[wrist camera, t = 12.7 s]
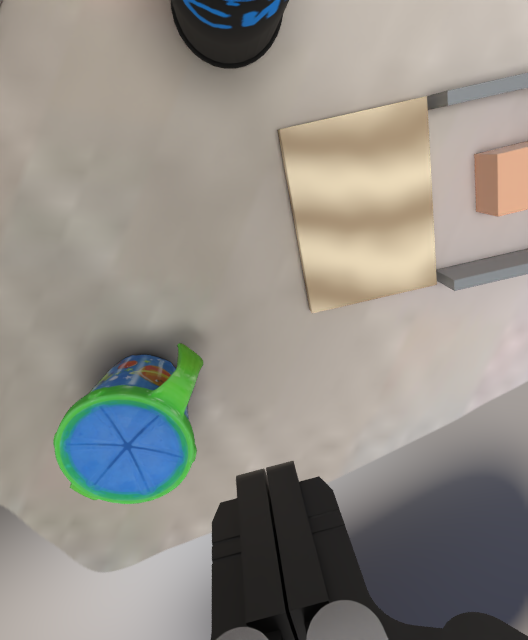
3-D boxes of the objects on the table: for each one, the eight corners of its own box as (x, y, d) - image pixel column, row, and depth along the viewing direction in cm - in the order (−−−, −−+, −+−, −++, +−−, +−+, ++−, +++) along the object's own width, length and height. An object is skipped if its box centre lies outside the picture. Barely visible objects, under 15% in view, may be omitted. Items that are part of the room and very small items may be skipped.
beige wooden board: (277, 130, 34) (279, 129, 33) (420, 97, 35) (426, 96, 34) (309, 308, 41) (312, 313, 39) (430, 281, 41) (436, 284, 40)
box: (426, 96, 35) (447, 90, 31) (579, 62, 35) (616, 52, 32) (435, 279, 41) (454, 290, 37) (566, 249, 41) (596, 258, 38)
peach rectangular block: (473, 154, 37) (497, 154, 34) (539, 137, 37) (570, 136, 34) (475, 211, 39) (498, 216, 36) (538, 195, 39) (567, 199, 36)
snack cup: (132, 461, 45) (109, 543, 36) (51, 401, 42) (1, 474, 32) (240, 370, 42) (246, 433, 33) (162, 298, 39) (143, 344, 29)
